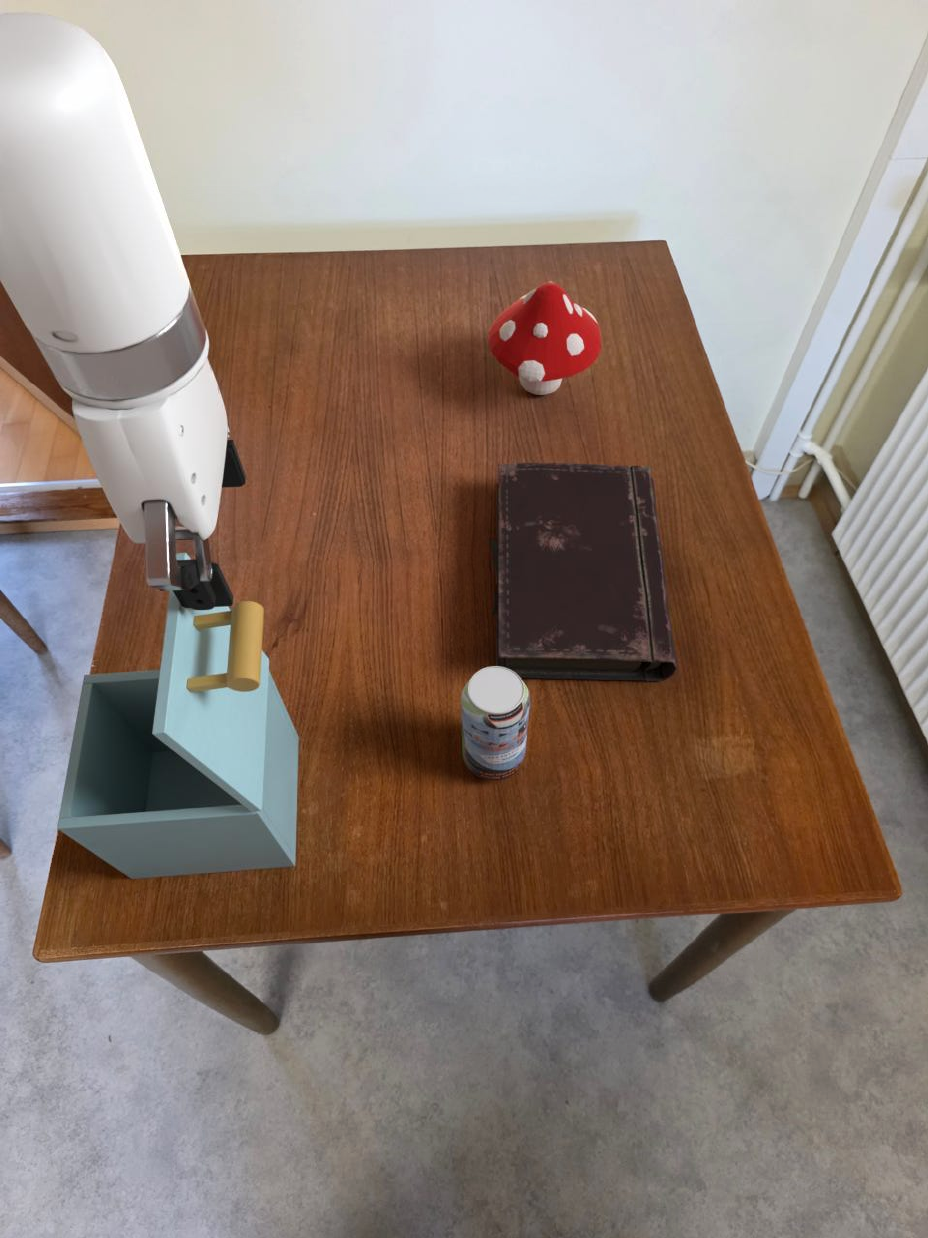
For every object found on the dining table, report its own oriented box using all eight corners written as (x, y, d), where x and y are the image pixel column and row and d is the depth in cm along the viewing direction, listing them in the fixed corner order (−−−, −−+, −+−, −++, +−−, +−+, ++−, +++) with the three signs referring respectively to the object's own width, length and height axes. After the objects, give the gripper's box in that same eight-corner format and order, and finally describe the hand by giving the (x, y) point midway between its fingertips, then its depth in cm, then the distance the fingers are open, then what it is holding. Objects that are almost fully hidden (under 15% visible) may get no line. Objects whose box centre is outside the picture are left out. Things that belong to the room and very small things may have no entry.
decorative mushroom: (564, 336, 109) (577, 234, 97) (615, 404, 103) (637, 304, 90) (469, 366, 106) (470, 265, 94) (515, 438, 100) (524, 339, 87)
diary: (647, 492, 96) (656, 463, 91) (670, 683, 83) (682, 660, 79) (489, 489, 96) (491, 460, 92) (488, 679, 83) (490, 656, 79)
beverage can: (471, 793, 77) (473, 745, 67) (451, 723, 81) (450, 668, 70) (534, 776, 78) (546, 726, 68) (512, 708, 81) (519, 651, 71)
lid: (151, 734, 46) (240, 722, 46) (174, 553, 53) (252, 541, 52) (251, 812, 59) (321, 803, 59) (260, 660, 66) (323, 651, 65)
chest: (131, 879, 73) (56, 828, 59) (148, 747, 79) (83, 674, 66) (295, 866, 73) (258, 813, 60) (298, 737, 80) (265, 662, 66)
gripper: (77, 223, 43) (175, 445, 58) (1, 472, 34) (140, 659, 49) (218, 218, 43) (281, 440, 58) (178, 465, 35) (264, 653, 49)
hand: (216, 540), depth 54 cm, fingers open, 9 cm apart
